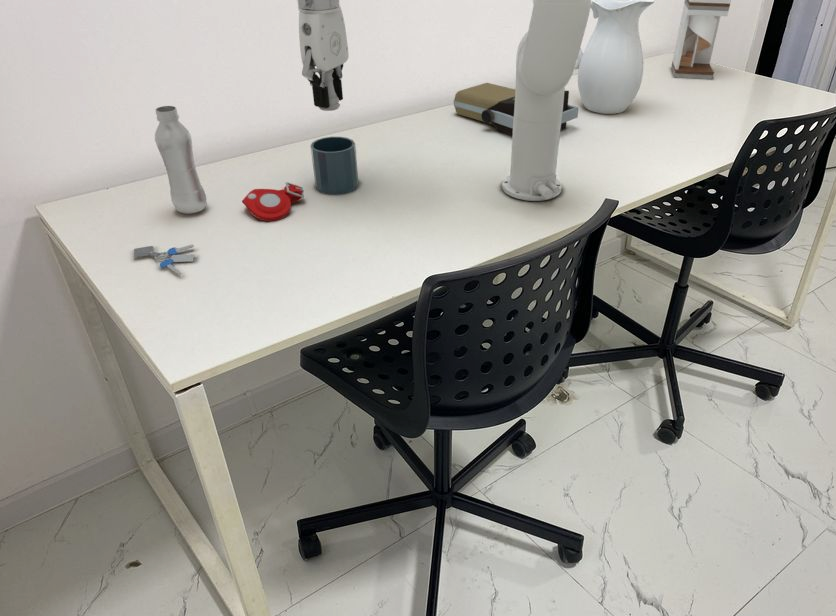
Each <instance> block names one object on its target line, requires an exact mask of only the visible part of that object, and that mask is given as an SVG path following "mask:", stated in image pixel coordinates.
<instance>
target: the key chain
mask: <svg viewBox="0 0 836 616" xmlns="http://www.w3.org/2000/svg"><path fill="white" fill-rule="evenodd" d="M194 246H195V245H194V244H188V245H185V246H182V247H179V248H178V247H170V248H168V250H167V251H163V252H156V251H154V245H149V246H143V247H138V248H136V247H135V248H134V249H133V257H134V258H141V257H147V256H149V257H152V258H154V259H155V260H156V261H157V262H160V263H159V267H160V268H169V269H170V270H171V271H172V272H174V273H176V274H178V275H179V276H180V275H182V273H181V272H180V270H179V269H178V268H176V267H175V266H173V263H187V262H188V263H189V262H191V263H192V262H194V258H195V254H194V253H191V254H189V253H188V254H179V253H181V252H182V251H187V250H189V249H193V248H194Z"/></svg>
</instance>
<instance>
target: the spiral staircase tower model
mask: <svg viewBox="0 0 836 616" xmlns="http://www.w3.org/2000/svg"><path fill="white" fill-rule="evenodd" d="M731 3H732V0H684V2H683V7H682V13H681V17H680V23H679V27H678V32H677V38H676V43H675V47H674V52H673V57H672V63H671V67H670V68H671V72H672V75H673V78H678V79H679V78H681V79H699V80H713V78H714V74H715V71H714V70H713V68H712V66H711V65H710V63H711V59H712V55H713V50H714V46H715V42H716V37H717V34H718V29H719V26H720V25H719V24H720V21H721V17H728V15H729V11H730V6H731Z"/></svg>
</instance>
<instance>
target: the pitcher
mask: <svg viewBox="0 0 836 616" xmlns="http://www.w3.org/2000/svg"><path fill="white" fill-rule="evenodd" d="M654 3H655V0H620V1H619V0H591V6H590V10H591V11H592V16H593V18H594V19H597V22H596V24H595V28H594V30H593V32H592V34H591V36H590V38H589V39H588V42H587V44H586V46H585V48H584V51H583V50H582V47H580V51H579V54H578V58H577V61H576V65H575V68H574V71H575V70H576V71H577V70H578V72H577V88H578V93H579V96H580V99H581V101H582V103H583V106H584V107H585V109H587V110H588V111H590V112H594V113H598V114H602V115H603V114H605V115H616V114H620V113H622V112H625V111H626V110H627V109H628V108H629V107H630V105H631V104H632V103H633V101H634V100H635V98H636V96H637V95H638V93H639V90H640V87H641V85H642V82H643V81H642V80H643V75H644V51H643V47H642V42H641V35H640V32H639V22H640V17H641V15H642V14H643V12H644V11H645V10H647V8H649V7H650V6H651V5H653V4H654Z"/></svg>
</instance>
